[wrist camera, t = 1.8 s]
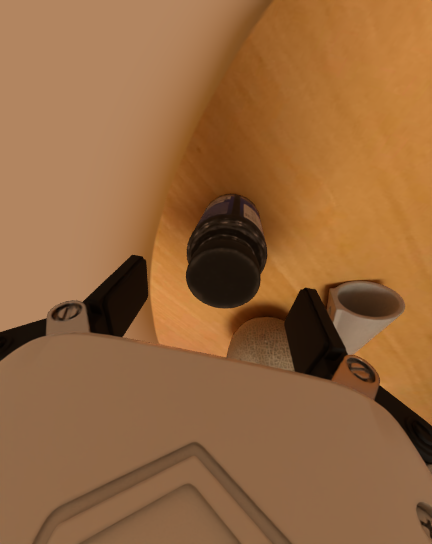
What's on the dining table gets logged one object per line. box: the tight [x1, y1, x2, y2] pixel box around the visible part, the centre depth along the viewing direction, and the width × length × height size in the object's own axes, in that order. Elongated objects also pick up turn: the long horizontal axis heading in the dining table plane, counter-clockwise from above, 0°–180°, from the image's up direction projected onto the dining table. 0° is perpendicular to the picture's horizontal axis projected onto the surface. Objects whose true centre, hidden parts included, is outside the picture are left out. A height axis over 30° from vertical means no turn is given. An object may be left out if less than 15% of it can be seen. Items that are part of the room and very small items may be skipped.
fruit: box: [227, 317, 295, 372], centre depth 23 cm, size 10×12×15 cm
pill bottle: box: [186, 194, 267, 308], centre depth 16 cm, size 6×6×11 cm
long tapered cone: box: [327, 281, 405, 355], centre depth 27 cm, size 6×6×19 cm
